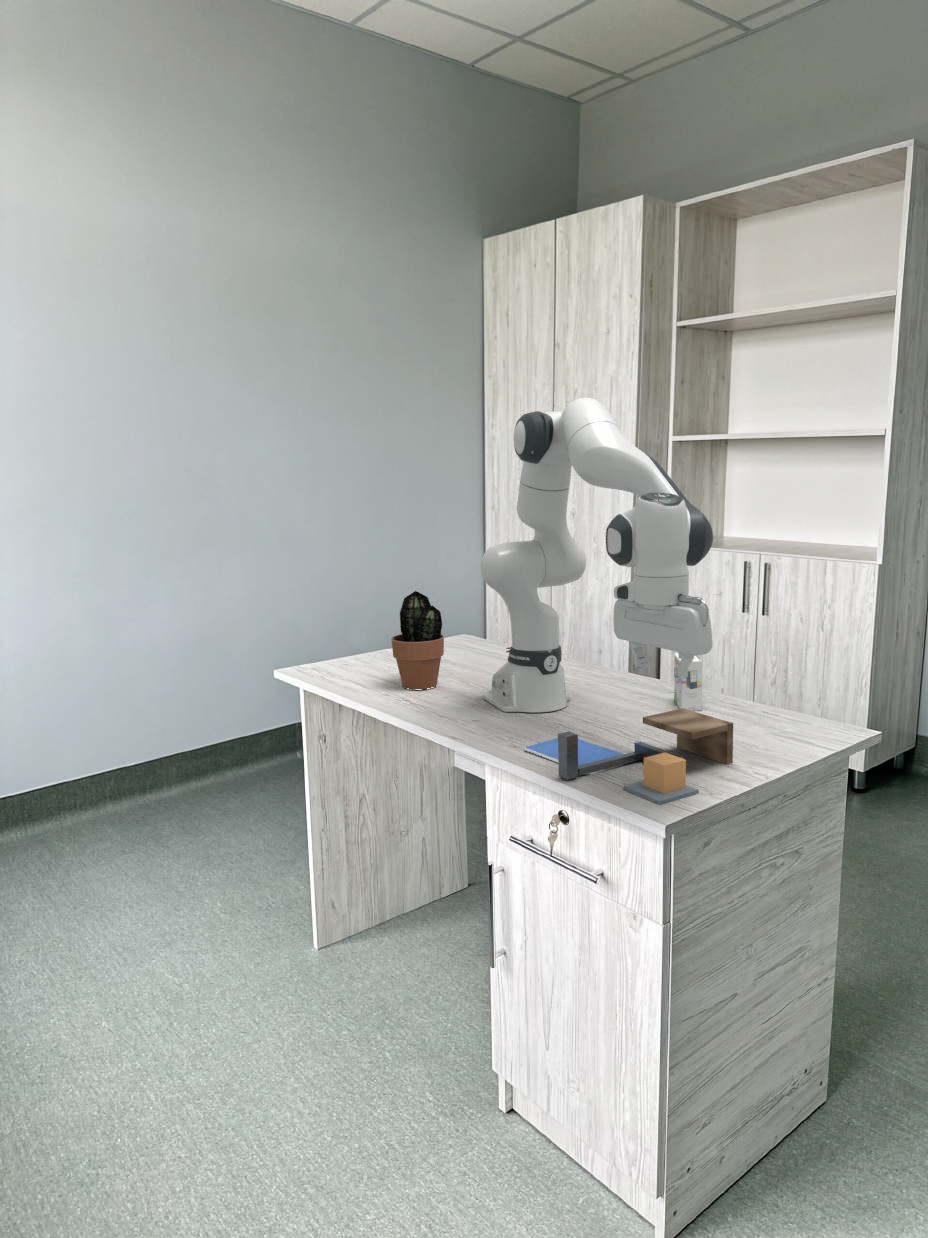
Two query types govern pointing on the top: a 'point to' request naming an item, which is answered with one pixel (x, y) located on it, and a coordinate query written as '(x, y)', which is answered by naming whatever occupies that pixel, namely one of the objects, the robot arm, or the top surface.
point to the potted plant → (418, 642)
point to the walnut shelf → (697, 733)
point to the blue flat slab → (585, 752)
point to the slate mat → (659, 793)
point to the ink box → (689, 685)
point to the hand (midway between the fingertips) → (660, 672)
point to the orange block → (664, 772)
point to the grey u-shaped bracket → (572, 770)
